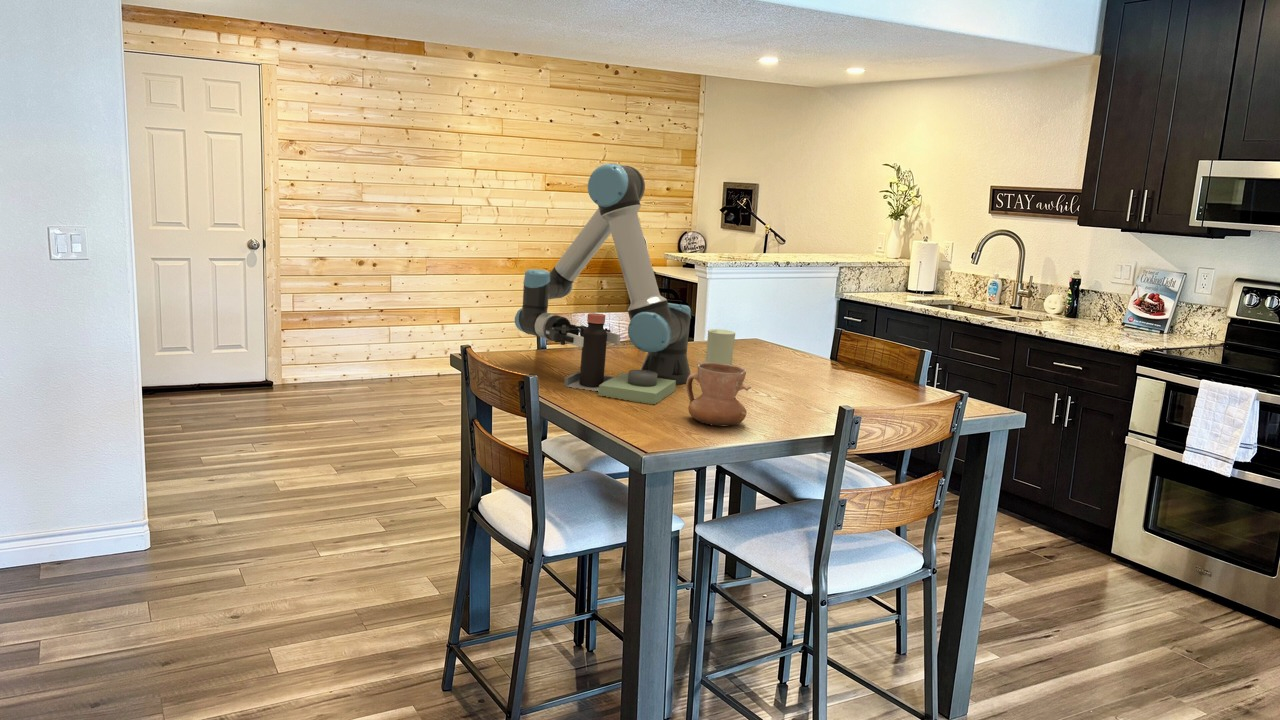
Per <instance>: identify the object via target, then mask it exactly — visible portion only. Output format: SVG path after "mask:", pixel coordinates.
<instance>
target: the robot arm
mask: <svg viewBox="0 0 1280 720" xmlns="http://www.w3.org/2000/svg"><path fill="white" fill-rule="evenodd" d="M645 189H646V183H645V179H644V177H643V174H642V173H641V172H640V171H639V170H638V169H636V168H635V167H633V166H630V165H622V164H617V163H606V164H602V165H600V166H598V167H596V168H595V169H594V170H593V171H592V172H591V174H590V176H589V178H588V182H587V192H588V195H589V197H590V199H591V201H593V202H594V203H595V204H596V205H597V206H598V207H597V209H596V210H595V211H594V213H593V214H592V216H591V218H590V219H589V220H588V222H587V223H586V224H585V225H584V226H583V228H582V229H581V230H580V232H579V233H578V235H577V236H576V237H575V239H574V240H573V241H572V242H571V244H570V245H569V246H568V248H567V249H566V250H565V252H564V253H563V254H562V256H561V257H560V259H559V260H558V261H557V262H556V264H555V265H554V266H553V268H552V269H551V271H548V270H545V269H539V268H533V269H532V268H529V269H527V270H525V272H524V278H523V287H522V288H523V292H522V293H523V294H522V307H521V308H520V309H519V310H517V311H516V314H515V316H514V325H515V327H516V329H518V330H519V331H520V332H522V333H525V334H528V335H531V336H535V337H539V338H543V339H544V340H545V341H552V342H554V343H560V345H561V346H566V344H569V345H572V346H576V347H579V348H582V347H583V341H584V337H583V331H584V330H585V329H586V328H587V327H588V326H585V325H575V324H572V323H571V321H570V320H569V319H568V318H567V317H565V316H561V315H557V314H554V313H550V312H548V308H549V300H554V299H555V300H556V299H562V298H564V297H567V296H568V295H569V294H570V293H571V292H572V289H573V283H574V282H575V281H576V279H577V278H578V277H579V275H580V274H581V273H582V271H583V270H584V269H585V268H586V266H587V265H588V264H589V263H590V261H591V259H592V258H593V257H594V256H595V254H596V253H597V252H598V251H599V249H600V248H601V247H602V246H603V244H604V243H605V241H607V239H608V238H609V237H610V235H611V237H612V240H613V244H614V248H615V251H616V255H617V258H618V262H619V266H620V268H621V273H622V277H623V279H624V284H625V287H626V290H627V294H628V298H629V301H630V304H629V307H628V309H627V314H628V317H629V324H628V327H627V334H628V338H629V340H630V342H631V344H632V345H633V346H634V347H635V348H636V349H638V350H640V351H641V352H644V353H646V356H645V359H644V361H643V363H642V365H641V367H640V370H648V371H653V372H656V373H657V378H662V379H669V380H675V381H676V385H682V384H686V382H687V379H688V377H689V375H691V374H692V373H691V370H690V366H689V365H690V364H689V359H688V346H689V345H688V344H689V336H690V335H689V334H690V327H691V326H690V325H691V319H692V315H691V312H692V311H691V307H690V306H689V305H686V304H678V303H671V302H668V299H667V298H665V297H664V296H662V295H661V294H660V290H659V287H658V283H657V279H656V276H655V273H654V269H653V264H652V262H651V259H650V255H649V251H648V247H647V244H646V240H645V236H644V232H643V230H642V227H641V226H642V225H641V223H640V222H641V221H640V219H639V215H638V212H639V211H640V209H641V201H642V199H643V197H644V194H645ZM604 330H605V331H606V332H607V343H611V344H613V345H620V342H621V334H617V333H614V332H611V329H608V328H606V327H605V328H604Z"/></svg>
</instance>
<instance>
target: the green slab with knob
mask: <svg viewBox="0 0 1280 720" xmlns="http://www.w3.org/2000/svg"><path fill="white" fill-rule="evenodd" d="M563 381H564V383H563V386H564V387H566V386H567V387H566V388H569V387H572V388H571V389H576V388H579V389H578V390H582V389H585V390H584V391H589V390H592V391H591V392H595V391H598V393H597V395H599V396H598V397H602V396H606V397H605V398H608V397H611V398H610V399H615V398H618V399H617V400H621V399H624V400H623V401H627V400H629V402H635V403H640V402H641V404H649V405H653V404H655V405H657V404H658V403H660V402H662V401H663V400H664V399H665V397H666V398H667V397H668V396H670V395H671V394H673V393H674V392H676V385H677V384H676V381H675V380H669V379H662V378H657V373H656V372H653V371H648V370H641V369H630V370H629V371H628V373H627V372H622V373H619V374H618V375H615V376H610V375H604V382H603V383H602V384H600V385H599V387H586V386H582V385H580V383H579V381H580V371H577V372H574V373H572V374H569V375H567V376H564V380H563ZM662 399H663V400H662ZM656 403H657V404H656Z"/></svg>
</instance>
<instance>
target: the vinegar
mask: <svg viewBox="0 0 1280 720" xmlns="http://www.w3.org/2000/svg"><path fill="white" fill-rule="evenodd" d="M586 320H587V321H586V322H587V323H586V324H587V326H586V327H587V328H586V329H585V330H584V331H583V337H584V341H583V347H581V357H580V370H579V372H580V381H579V383H580V385H582V386H586V387H599V385H600V384H602V383H603V382H604V376H605V367H606V357H607V356H606V354H607V343H608V342H607V332H606V331H605V330H604V329H605V328H604V326H605V323H606V315H605V314H602V313H597V312H596V313H594V312H593V313H592V312H591V313H587V319H586Z"/></svg>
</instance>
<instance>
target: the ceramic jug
mask: <svg viewBox="0 0 1280 720" xmlns="http://www.w3.org/2000/svg"><path fill="white" fill-rule="evenodd" d="M696 370H697V373H696V372H695V373H691V375H689V377H688V379H687V382H686V383H685V385H686V386H685V388H686V393H687V396H688V400H689V405H688V413H689V415H690V416H691V417H692V418H693V419H694V420H696V421H698V422H700V423H702V424H704V423H706V424H705V425H708V424H712V425H711V426H713V425H731V426H735V425H738V424H740V423H742V422H743V421H744V420H745V418H746V417H747V409H746V407H745V405H743V404H742V403H741V402H740V401H739V400H738V399H737V398H736V396H737V394H738V392H739V391H742V390H745V391H746V392H748V391H749V390H750V389H752V386H750V384H748V383H744V381H745V378H746V376H747V369H746V368H744V367H742V366H738V365H733V364H732V365H725V364H719V363H705V362H700V363H698V364H697V369H696ZM694 380H695V381H697V382H698V383H699V387H700V391H701V392H702V393H701V394H700V396H698V397H694V392H693V381H694Z"/></svg>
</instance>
